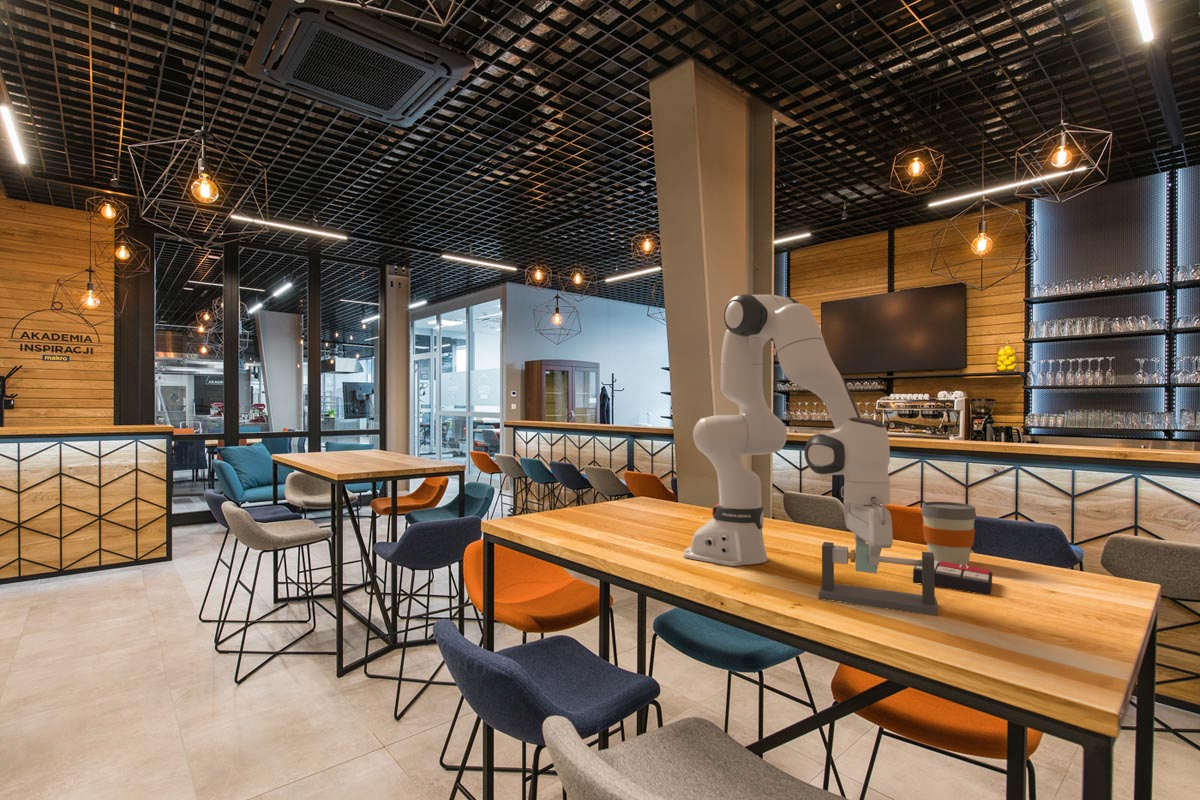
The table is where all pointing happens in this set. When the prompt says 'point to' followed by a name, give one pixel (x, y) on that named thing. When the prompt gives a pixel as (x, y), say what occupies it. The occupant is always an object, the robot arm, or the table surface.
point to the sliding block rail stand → (876, 596)
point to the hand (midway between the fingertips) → (867, 559)
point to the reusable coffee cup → (949, 530)
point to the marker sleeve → (864, 559)
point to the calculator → (958, 577)
